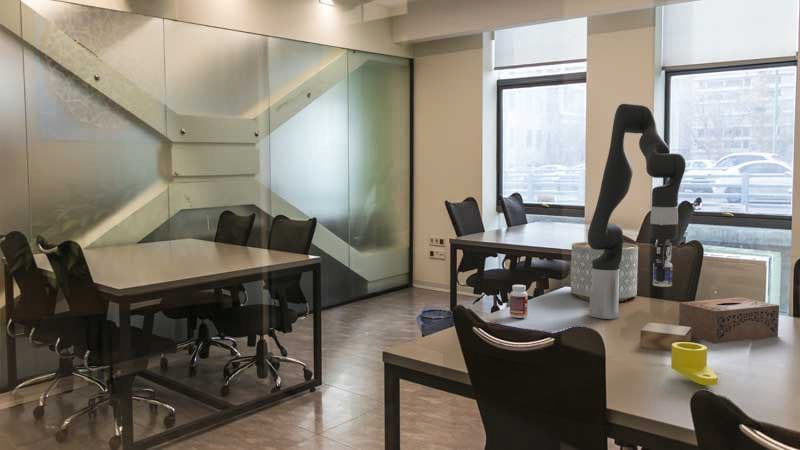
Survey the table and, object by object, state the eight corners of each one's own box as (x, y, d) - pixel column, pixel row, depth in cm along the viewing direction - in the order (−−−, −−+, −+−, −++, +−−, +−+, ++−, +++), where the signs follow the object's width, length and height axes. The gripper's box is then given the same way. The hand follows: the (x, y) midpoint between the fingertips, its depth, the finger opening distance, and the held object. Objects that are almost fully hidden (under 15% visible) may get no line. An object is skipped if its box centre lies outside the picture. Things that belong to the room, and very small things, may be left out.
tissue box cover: (714, 344, 196) (715, 311, 196) (678, 333, 210) (679, 302, 209) (777, 336, 205) (779, 305, 205) (739, 327, 219) (740, 297, 218)
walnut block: (640, 347, 192) (640, 330, 192) (648, 338, 202) (649, 322, 202) (684, 352, 186) (684, 335, 185) (690, 343, 196) (691, 327, 195)
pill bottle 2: (673, 287, 190) (674, 256, 189) (654, 286, 191) (655, 256, 190) (670, 284, 195) (671, 254, 194) (651, 283, 196) (652, 254, 195)
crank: (666, 363, 176) (667, 341, 175) (698, 364, 175) (699, 342, 175) (692, 385, 158) (693, 360, 157) (728, 385, 157) (729, 361, 157)
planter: (573, 304, 255) (574, 247, 254) (567, 293, 280) (569, 241, 279) (642, 307, 251) (643, 249, 249) (630, 295, 276) (631, 242, 274)
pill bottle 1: (528, 318, 231) (528, 287, 230) (510, 318, 231) (511, 287, 230) (526, 314, 237) (526, 284, 236) (508, 314, 237) (509, 284, 236)
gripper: (655, 220, 199) (654, 275, 201) (644, 223, 187) (643, 282, 189) (682, 221, 195) (680, 278, 197) (673, 224, 183) (671, 284, 185)
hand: (662, 279), depth 193 cm, fingers closed on pill bottle 2, 5 cm apart
